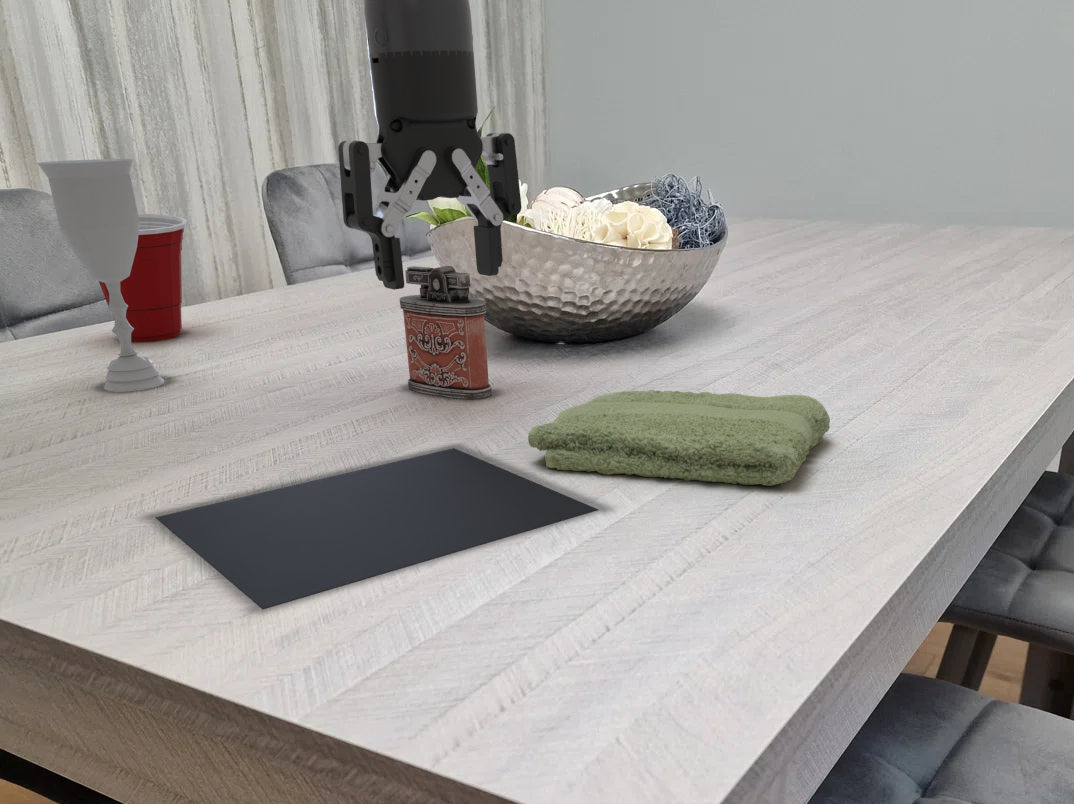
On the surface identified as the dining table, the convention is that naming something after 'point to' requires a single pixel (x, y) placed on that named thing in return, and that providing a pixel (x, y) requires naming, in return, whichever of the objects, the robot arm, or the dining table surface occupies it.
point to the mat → (364, 523)
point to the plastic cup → (154, 280)
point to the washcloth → (686, 436)
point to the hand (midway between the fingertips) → (442, 281)
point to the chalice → (104, 246)
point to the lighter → (445, 335)
